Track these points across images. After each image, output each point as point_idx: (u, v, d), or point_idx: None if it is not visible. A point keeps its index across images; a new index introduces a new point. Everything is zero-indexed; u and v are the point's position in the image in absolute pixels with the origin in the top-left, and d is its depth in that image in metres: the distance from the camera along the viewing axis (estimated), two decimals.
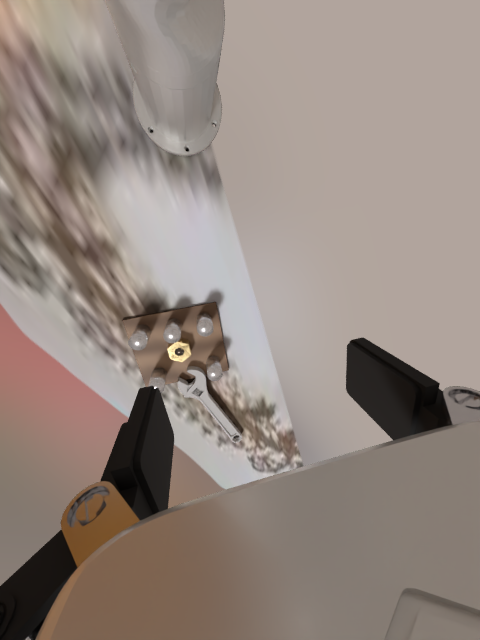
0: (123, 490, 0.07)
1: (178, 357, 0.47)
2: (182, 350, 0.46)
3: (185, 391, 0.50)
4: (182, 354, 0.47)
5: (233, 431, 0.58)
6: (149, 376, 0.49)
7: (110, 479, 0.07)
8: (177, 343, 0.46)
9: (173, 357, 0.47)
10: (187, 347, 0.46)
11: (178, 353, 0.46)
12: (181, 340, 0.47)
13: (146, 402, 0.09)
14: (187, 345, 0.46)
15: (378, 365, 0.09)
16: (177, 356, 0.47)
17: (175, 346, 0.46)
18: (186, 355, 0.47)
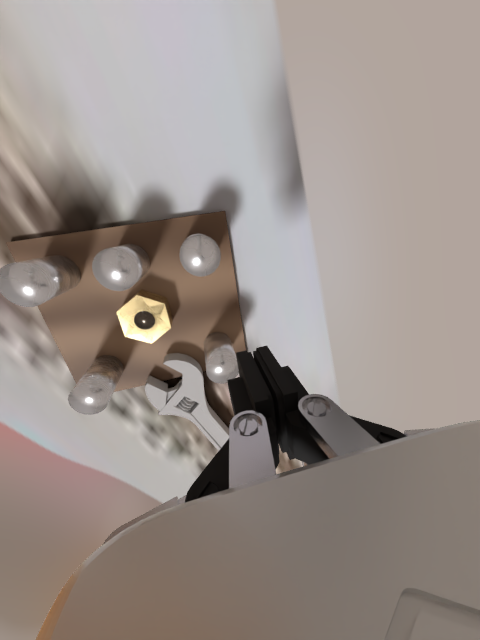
0: None
1: (143, 332, 0.21)
2: (150, 317, 0.21)
3: (162, 403, 0.25)
4: (150, 327, 0.21)
5: None
6: None
7: None
8: (139, 300, 0.20)
9: (131, 332, 0.21)
10: (162, 310, 0.21)
11: (142, 322, 0.21)
12: (149, 295, 0.21)
13: (249, 361, 0.11)
14: (162, 305, 0.21)
15: (264, 373, 0.10)
16: (141, 331, 0.21)
17: (134, 305, 0.20)
18: (161, 329, 0.22)
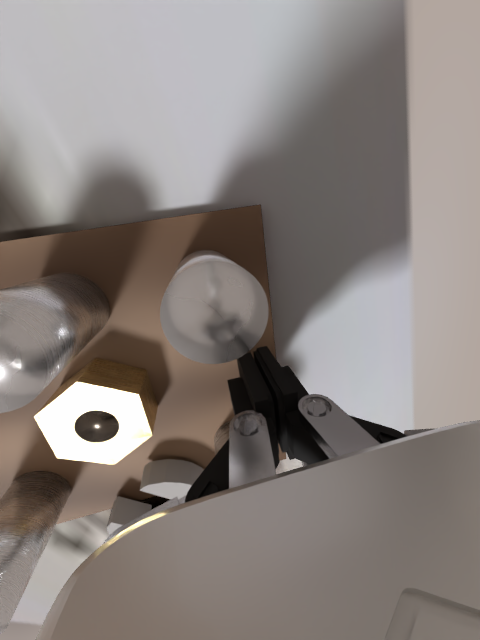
0: None
1: (95, 448, 0.11)
2: (109, 420, 0.10)
3: None
4: (110, 437, 0.11)
5: None
6: None
7: None
8: (83, 391, 0.10)
9: (71, 449, 0.10)
10: (134, 406, 0.10)
11: (92, 431, 0.10)
12: (109, 374, 0.11)
13: (249, 361, 0.11)
14: (133, 398, 0.10)
15: (264, 373, 0.10)
16: (91, 445, 0.11)
17: (74, 402, 0.10)
18: (133, 437, 0.11)
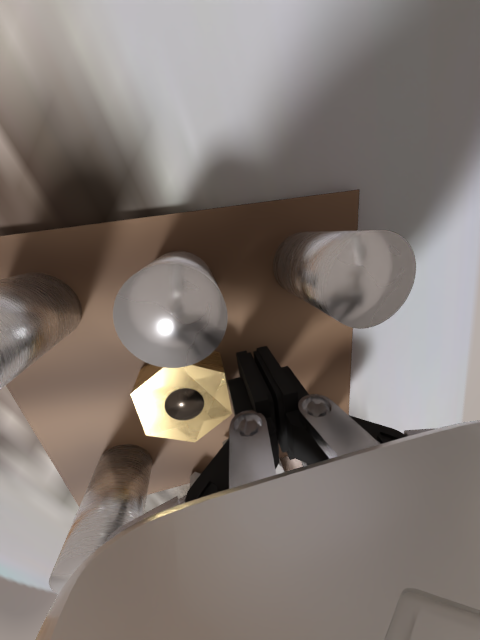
0: None
1: (180, 425, 0.11)
2: (196, 398, 0.11)
3: None
4: (194, 415, 0.11)
5: None
6: (89, 475, 0.14)
7: None
8: (176, 369, 0.10)
9: (159, 427, 0.11)
10: (219, 385, 0.11)
11: (179, 408, 0.11)
12: None
13: (249, 361, 0.11)
14: (219, 377, 0.11)
15: (264, 373, 0.10)
16: (177, 423, 0.11)
17: (167, 380, 0.10)
18: (213, 415, 0.12)
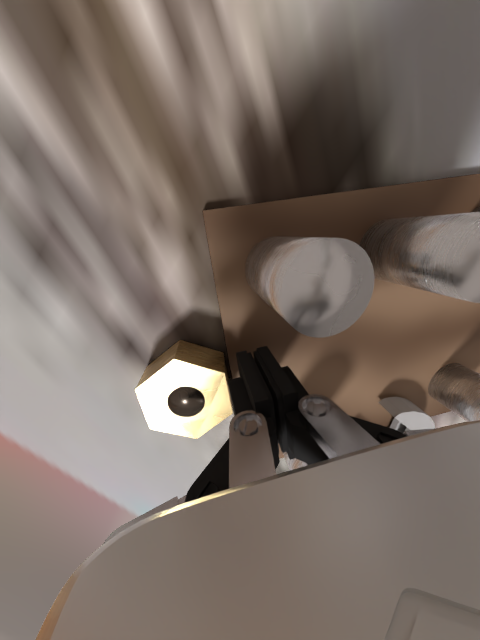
0: None
1: (182, 422, 0.12)
2: (197, 396, 0.11)
3: None
4: (196, 412, 0.12)
5: None
6: None
7: None
8: (177, 368, 0.11)
9: (162, 422, 0.12)
10: (219, 385, 0.11)
11: (181, 405, 0.11)
12: (195, 354, 0.11)
13: (249, 361, 0.11)
14: (219, 377, 0.11)
15: (264, 373, 0.10)
16: (179, 419, 0.12)
17: (169, 378, 0.11)
18: (214, 414, 0.12)
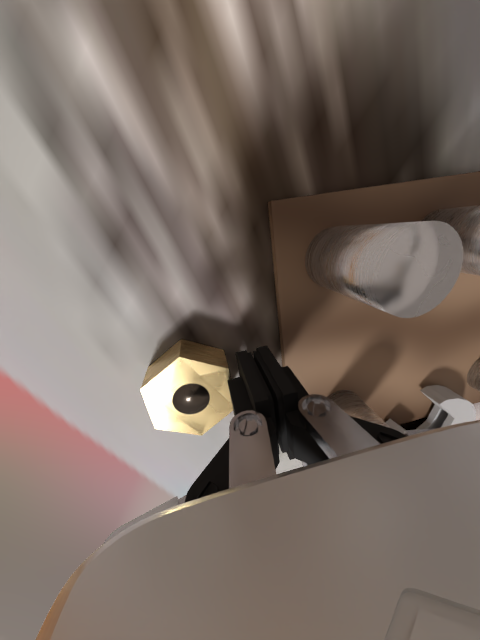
0: None
1: (187, 419, 0.12)
2: (202, 392, 0.11)
3: None
4: (201, 409, 0.12)
5: None
6: None
7: None
8: (183, 366, 0.11)
9: (167, 420, 0.12)
10: (223, 380, 0.11)
11: (186, 403, 0.11)
12: (198, 352, 0.12)
13: (249, 361, 0.11)
14: (224, 372, 0.11)
15: (264, 373, 0.10)
16: (184, 417, 0.12)
17: (174, 376, 0.11)
18: (218, 409, 0.12)
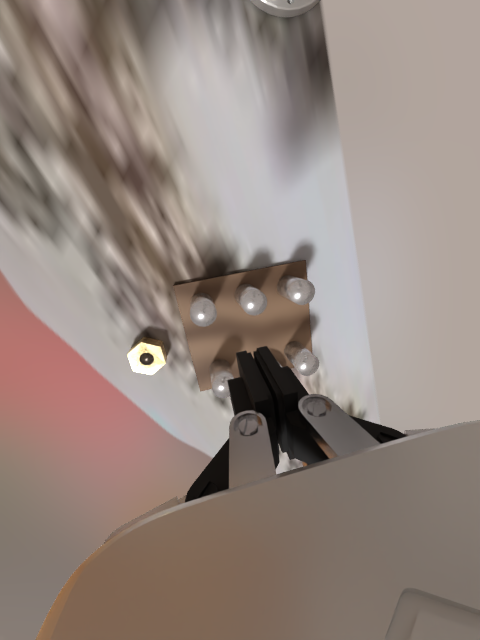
0: None
1: (145, 367, 0.30)
2: (150, 356, 0.30)
3: None
4: (150, 363, 0.30)
5: None
6: (205, 372, 0.34)
7: None
8: (142, 345, 0.30)
9: (137, 367, 0.30)
10: (158, 351, 0.30)
11: (144, 360, 0.30)
12: (149, 341, 0.31)
13: (249, 361, 0.11)
14: (158, 348, 0.30)
15: (264, 373, 0.10)
16: (144, 366, 0.30)
17: (139, 349, 0.30)
18: (158, 364, 0.31)
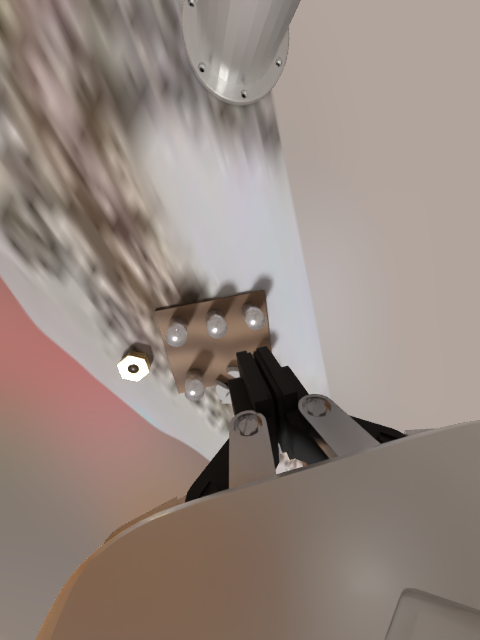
0: None
1: (132, 375, 0.38)
2: (136, 366, 0.38)
3: (224, 396, 0.43)
4: (136, 372, 0.38)
5: None
6: (182, 379, 0.42)
7: None
8: (129, 358, 0.37)
9: (126, 375, 0.38)
10: (143, 363, 0.38)
11: (132, 370, 0.38)
12: (136, 354, 0.38)
13: (249, 361, 0.11)
14: (142, 360, 0.38)
15: (264, 373, 0.10)
16: (131, 374, 0.38)
17: (127, 361, 0.37)
18: (143, 372, 0.39)
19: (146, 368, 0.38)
